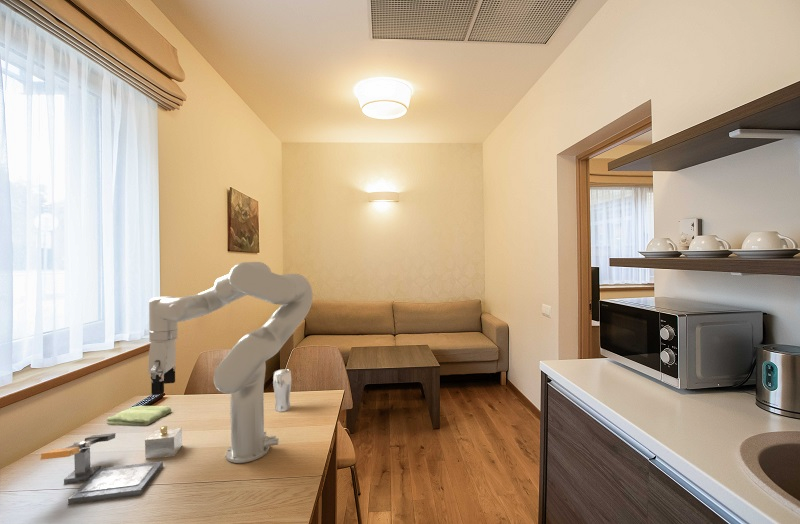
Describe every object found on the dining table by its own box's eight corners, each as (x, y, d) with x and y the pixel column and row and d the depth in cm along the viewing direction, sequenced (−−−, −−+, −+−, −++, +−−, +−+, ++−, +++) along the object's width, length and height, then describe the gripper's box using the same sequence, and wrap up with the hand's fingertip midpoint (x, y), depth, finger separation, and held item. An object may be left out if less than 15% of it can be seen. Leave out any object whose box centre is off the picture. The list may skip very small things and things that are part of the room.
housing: (182, 446, 116) (181, 421, 116) (174, 456, 110) (174, 430, 110) (154, 449, 114) (154, 424, 114) (145, 459, 109) (144, 433, 108)
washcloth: (134, 410, 144) (134, 402, 144) (173, 412, 142) (173, 404, 142) (103, 425, 131) (103, 417, 131) (146, 428, 129) (145, 419, 129)
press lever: (115, 438, 110) (115, 432, 111) (68, 457, 90) (69, 450, 91) (92, 440, 109) (93, 434, 109) (40, 460, 89) (41, 453, 89)
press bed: (165, 462, 107) (165, 438, 106) (140, 495, 92) (139, 467, 92) (76, 472, 102) (75, 447, 102) (34, 509, 87) (33, 479, 87)
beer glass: (288, 412, 140) (288, 374, 140) (270, 412, 140) (270, 374, 140) (294, 405, 147) (293, 369, 147) (277, 405, 147) (276, 369, 147)
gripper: (160, 330, 121) (161, 380, 121) (137, 342, 104) (138, 400, 105) (185, 329, 123) (185, 378, 123) (166, 341, 106) (167, 397, 107)
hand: (163, 388), depth 114 cm, fingers open, 9 cm apart
